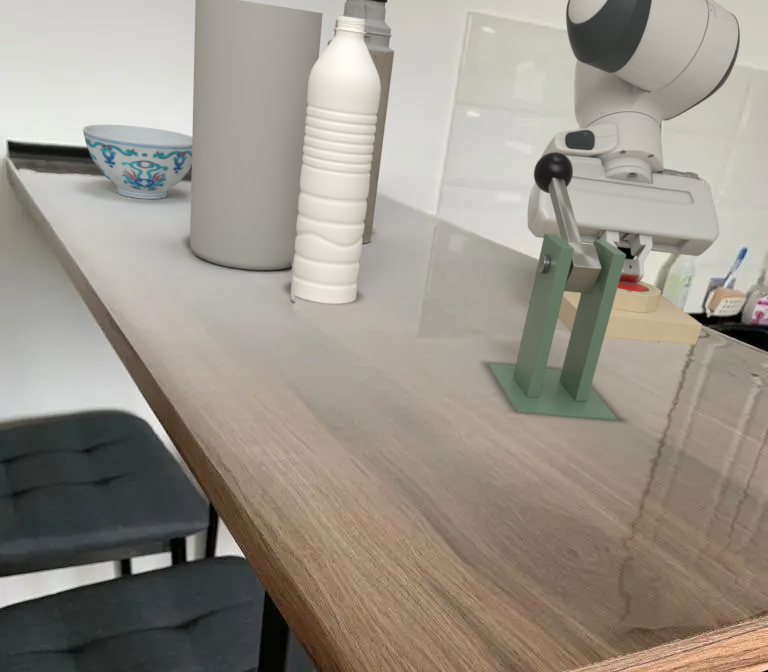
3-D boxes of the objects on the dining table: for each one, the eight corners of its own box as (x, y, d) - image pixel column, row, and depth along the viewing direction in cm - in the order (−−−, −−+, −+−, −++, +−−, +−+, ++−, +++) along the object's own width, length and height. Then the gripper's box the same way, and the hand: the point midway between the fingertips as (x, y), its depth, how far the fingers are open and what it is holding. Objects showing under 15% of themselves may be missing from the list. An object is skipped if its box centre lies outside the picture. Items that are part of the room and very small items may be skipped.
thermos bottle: (317, 226, 117) (339, -13, 103) (374, 235, 117) (404, -3, 103) (304, 237, 110) (327, -17, 97) (365, 247, 110) (396, -6, 96)
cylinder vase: (166, 252, 95) (169, -11, 83) (231, 237, 105) (242, 1, 93) (262, 279, 91) (280, 6, 79) (320, 260, 101) (344, 16, 89)
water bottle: (354, 316, 84) (390, 23, 71) (287, 308, 83) (312, 11, 71) (355, 292, 91) (387, 23, 79) (293, 284, 91) (316, 12, 78)
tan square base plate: (651, 321, 97) (664, 277, 95) (692, 355, 88) (708, 307, 85) (541, 310, 95) (552, 264, 93) (572, 343, 86) (584, 293, 83)
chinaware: (180, 211, 114) (181, 148, 110) (67, 194, 114) (64, 131, 110) (208, 193, 127) (210, 137, 123) (107, 177, 127) (106, 121, 123)
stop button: (633, 298, 92) (637, 282, 91) (647, 309, 89) (652, 292, 88) (598, 294, 91) (602, 278, 90) (610, 305, 88) (615, 288, 87)
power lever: (526, 176, 74) (538, 141, 71) (561, 180, 74) (574, 146, 72) (554, 294, 65) (569, 260, 63) (594, 298, 66) (610, 265, 63)
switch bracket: (485, 376, 74) (516, 223, 68) (573, 383, 75) (612, 234, 69) (513, 424, 65) (552, 254, 59) (613, 432, 67) (661, 266, 60)
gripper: (693, 193, 97) (704, 303, 94) (520, 170, 94) (524, 284, 90) (724, 157, 91) (736, 273, 88) (540, 131, 88) (545, 251, 84)
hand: (627, 279), depth 89 cm, fingers closed, pressing on stop button
